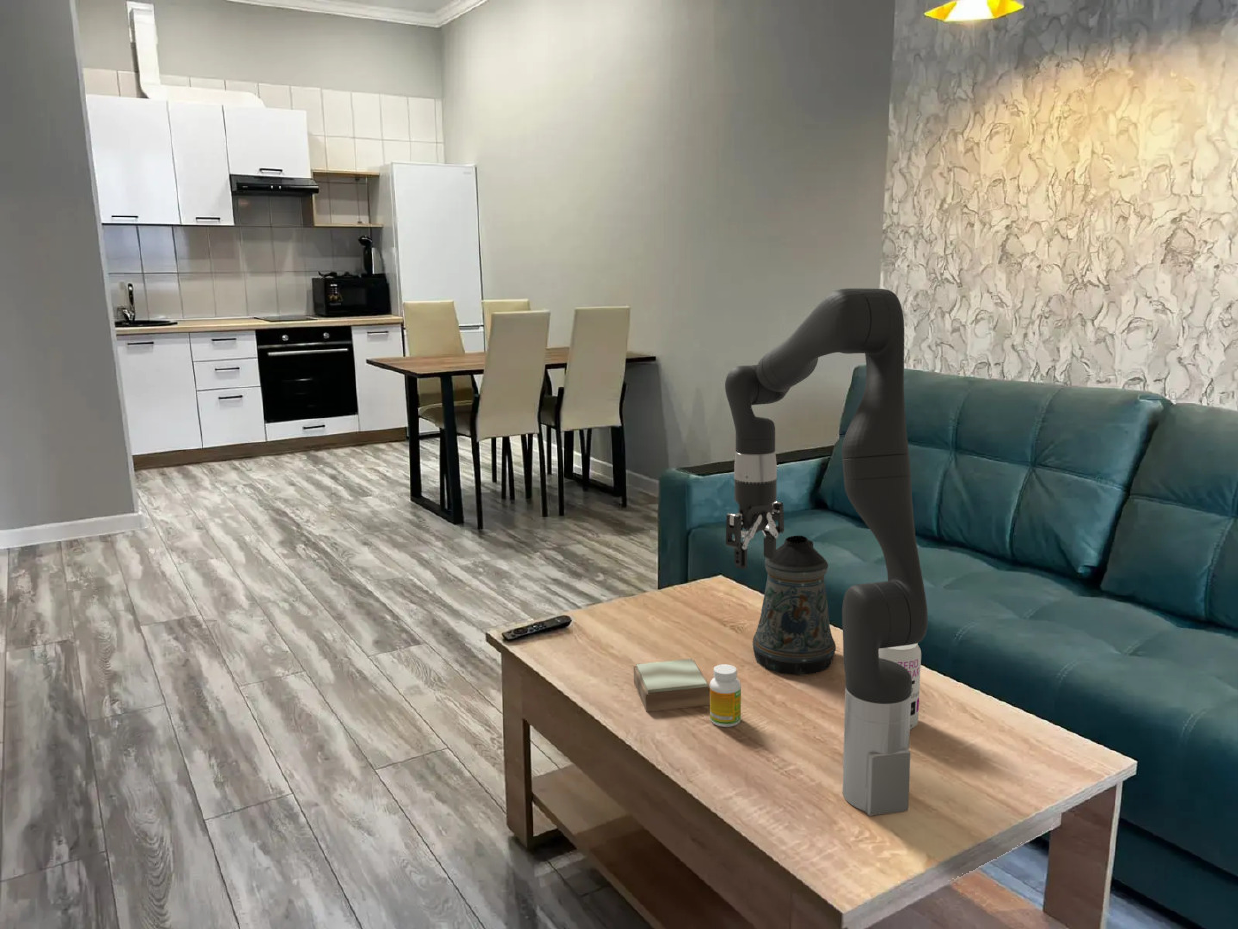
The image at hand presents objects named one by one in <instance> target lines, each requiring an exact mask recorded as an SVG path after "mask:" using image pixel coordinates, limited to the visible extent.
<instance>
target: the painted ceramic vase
mask: <svg viewBox="0 0 1238 929" xmlns="http://www.w3.org/2000/svg"><path fill="white" fill-rule="evenodd" d="M764 567H765V570H766V573H767V577H766V584H765V590H764V596H763V600H762V606H761V609H760V610H761V611H760V616H759V621H758V624H757V628H756V632H754V635H753V638H752V650H753V654H754V658H755V661H756V663H757V664H759V665H760V666H761V667H763V668H764V669H765V670H769V671H772V672H775V673H778V674H783V675H790V676H791V675H792V676H799V677H800V676H806V675H813V674H819V673H821V672H823V671H825V670H827V669H829V668H831V666H832V663H833V660H834V656H835V653H836V649H837V648H836V647H837V646H836V641H835V640H834V637H833V634H832V631H831V625H830V617H829V606H828V599H827V591H826V585H825V575H826V574H827V573H828V568H829V563H828V561H827V560H826V558H825V557H824V556H823V555H821V553H820V552H818V551H817V550H816V549H815V547H814V542H813V541H812V540H809V539H808V538H807V537H806V536H804V535H792V536H788V537H786V538H785V540H784V543H783V544H782V545H780V546H779V547H778V548H776V556H775V558H772V559H771V558H766V557H765V560H764Z"/></svg>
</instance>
